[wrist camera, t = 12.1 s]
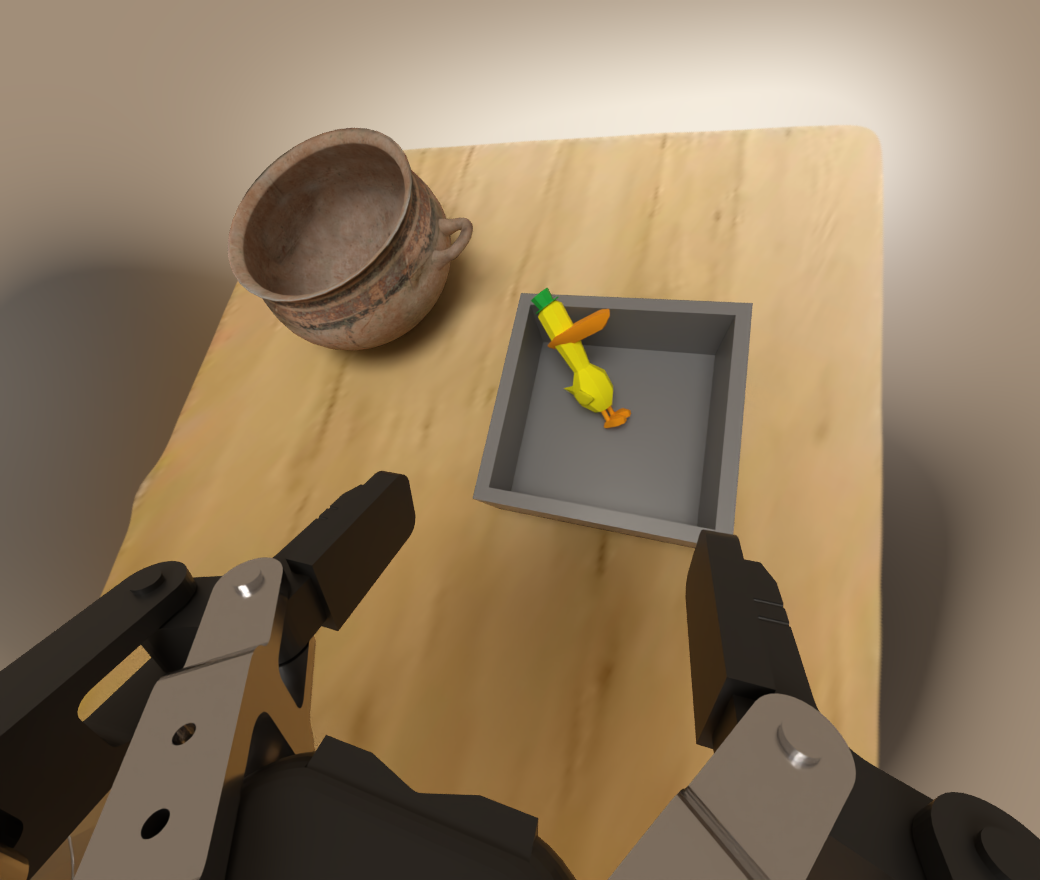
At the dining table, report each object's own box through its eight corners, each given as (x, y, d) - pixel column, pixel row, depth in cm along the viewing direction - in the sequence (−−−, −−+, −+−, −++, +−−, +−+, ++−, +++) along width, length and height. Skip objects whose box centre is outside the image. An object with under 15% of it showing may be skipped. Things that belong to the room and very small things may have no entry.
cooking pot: (508, 217, 43) (470, 98, 32) (489, 374, 39) (436, 300, 27) (318, 238, 50) (228, 144, 38) (280, 376, 45) (166, 316, 33)
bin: (499, 508, 35) (472, 498, 28) (536, 337, 39) (520, 293, 32) (706, 550, 30) (731, 549, 24) (725, 351, 34) (752, 303, 27)
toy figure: (664, 399, 31) (593, 257, 28) (650, 422, 29) (571, 270, 26) (594, 419, 36) (527, 300, 33) (578, 441, 34) (504, 315, 30)
